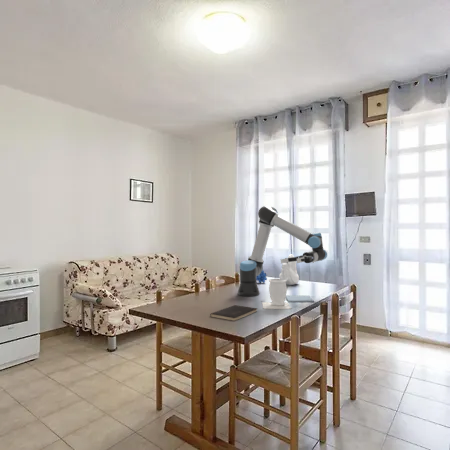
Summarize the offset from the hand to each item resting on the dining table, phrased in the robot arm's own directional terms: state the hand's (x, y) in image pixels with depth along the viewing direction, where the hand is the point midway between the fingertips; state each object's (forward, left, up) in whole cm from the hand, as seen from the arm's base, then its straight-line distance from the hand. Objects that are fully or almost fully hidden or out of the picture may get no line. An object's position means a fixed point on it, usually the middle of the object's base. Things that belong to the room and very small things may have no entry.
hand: (289, 261), depth 215 cm
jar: (-8, -10, -26) cm, 29 cm away
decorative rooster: (+6, +62, -26) cm, 67 cm away
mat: (+7, +5, -26) cm, 27 cm away
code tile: (-10, -13, -26) cm, 30 cm away
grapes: (-16, +70, -26) cm, 76 cm away
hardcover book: (-34, -32, -26) cm, 54 cm away
